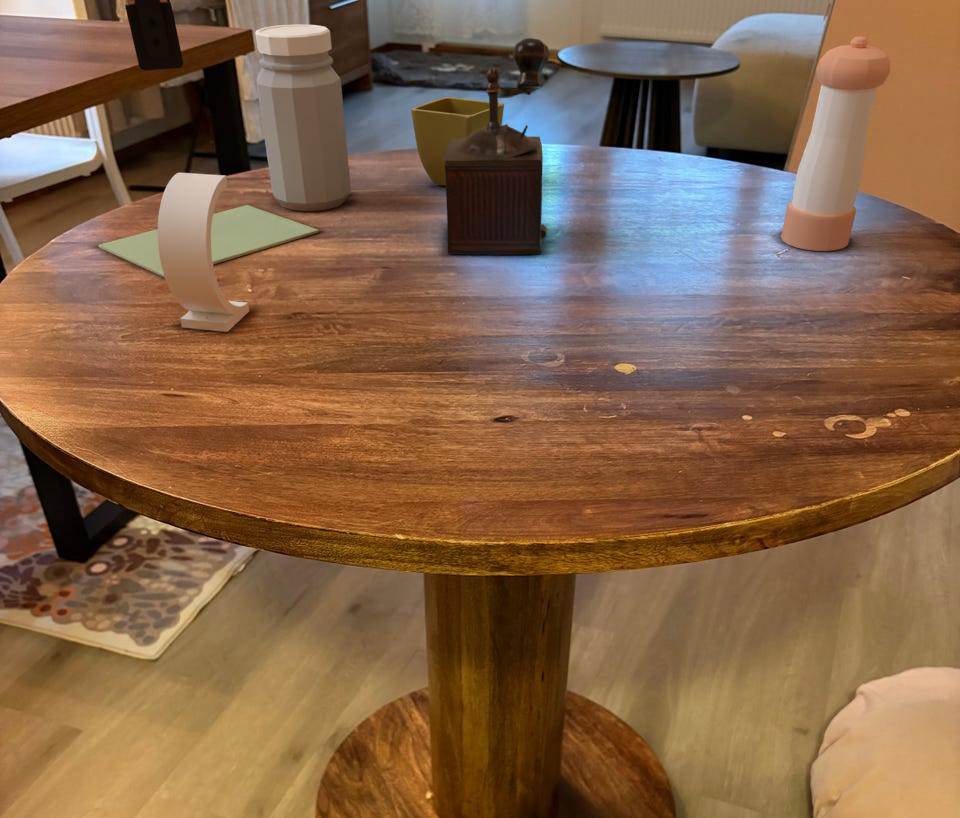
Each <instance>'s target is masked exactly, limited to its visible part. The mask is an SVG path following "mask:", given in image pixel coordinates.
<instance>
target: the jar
mask: <svg viewBox="0 0 960 818" xmlns="http://www.w3.org/2000/svg"><path fill="white" fill-rule="evenodd" d="M254 32H255V41H256V47H257V51H258V53H260V54H261V56H262V58H260V59H259V60H258V63H259V65H260V67H261V69H260V71H259V73H258V75H257V77H256V79H255V82H256V88H257V96H258V103H259V110H260V116H261V117H260V118H261V124H262V130H263V137H264V144H265V151H266V157H267V164H268V171H269V179H270V185H271V193H272V195H273V198H274V199H275V201H276V202H277V203H279V205H280V206H281V207H282V208H285V209H287V210H291V211H300V212H317V211H326V210H330V209H333V208H337V207H340V206H341V205H342V204H343V203H345V202H346V201H347V199H348V197H349V196H350V194H351V192H352V185H351V177H350V176H351V175H350V164H349V154H348V143H347V133H346V122H345V111H344V101H343V90H342V79H341V78H340V76H339V75H338V73H337V72H336V71H335V70H334V68H333V67H332V66H331V65H332V64H333V63H334V58H332V57H331V56H330V55H329V51H330V50H332V49H333V48H332V37H331V31H330V29H329V28H328V27H327V26H324V25H317V24H302V23H301V24H300V23H299V24H298V23H297V24H279V25H278V24H277V25H271V26H270V25H269V26H265V27H261V28H258V29H256V31H254Z"/></svg>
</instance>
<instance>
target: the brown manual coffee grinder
mask: <svg viewBox="0 0 960 818" xmlns="http://www.w3.org/2000/svg"><path fill="white" fill-rule="evenodd" d="M549 58H550V50H549V46H548V45H547V44H546V43H544V41H542V40H541V39H538V38H532V37H529V38H528V37H526V38H522V40H519V42H517V43H516V44H515V46H514V48H513V51H512V59H513V61H514V63H515V64H516V66H517V68H518V71H519V77H518V81H517V82H516V87H513V88H501V85H500V84H499V78H500V72H499V70H498V69H497V68H495V67H492V68H489V69H488V70H487V72H486V80H487V84H486V91H485V92H486V93H487V95H488V102H489V122H488V126H487V127H483V128H481V129H479V130H477V131H475V132H473V133H471V134H470V135H469V136H468V137H467V138H450V139H449V143H448V148H447V151H446V155H445V175H446V186H445V196H446V200H445V201H446V225H447V226H446V227H447V229H446V230H447V250H446V251H447V254H454V255H539V254H541V253H542V251H543V250H542V249H543V243H544V239H545V237H546V236H547V226H545V224H543V223H542V218H543V217H542V215H543V211H542V210H543V169H544V168H543V167H544V165H543V164H544V163H543V162H544V159H543V158H544V157H543V144H542V140H541V136H527V135H526V132H527V129H528V128H529V127H528V124H526V125H525V126H524V128H523V131H520V130H518V129H515V128H514V127H512V126H509V125H508V123H506V124H502V126H500V123H499V121H498V103H499V99H511V98H514V97H517V96H518V95H521V94H526V95H528V96H530V95H531V93H532V92H534V91H535V89H541V88H543V86H544V83H543V82H542V77H541V74H542V72H543V70H544V68H545V66H546V64H547V63H548V61H549Z"/></svg>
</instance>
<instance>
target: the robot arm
mask: <svg viewBox="0 0 960 818" xmlns="http://www.w3.org/2000/svg"><path fill="white" fill-rule="evenodd" d="M126 2H127V4H124V8H125V12H126V16H127V20H128V24H129V29H130V34H131V38H132V43H133V47H134V51H135V53H136V54H135V56H136V59H137V63H138V67H139V68H140V69H141V70H142V71H159V70H171V69H172V70H173V69H181V68H182V67H183V66H184V60H183V59H184V58H183V55H182V50H181V44H180V39H179V34H178V30H177V25H176V19H175V15H174V9H173V5H172V2H171V0H126Z"/></svg>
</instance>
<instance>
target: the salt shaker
mask: <svg viewBox="0 0 960 818" xmlns="http://www.w3.org/2000/svg"><path fill="white" fill-rule="evenodd" d="M868 41H869V40H868V38H866V37H865V36H860V35H859V36H858V35H857V36H855V37H853V38H852V39H851V40H850V42H849V43H850V44H845V45H843V44H842V45H839V46H836V47H834V48H831V49H829V50H827V51H826V52H825V53H824V55H823V56H821V58H820V59H819V61H818V63H817V66H816V68H815V74H816V79H817V81H818V82H819V83H820V84H821V86H820V90H819V93H818V98H817V103H816V108H815V112H814V116H813V122H812V127H811V131H810V134H809V136H808V138H807V139H808V140H807V142H806V144H805V145H806V146H805V148H804V151H803V153H802V157H801V160H800V163H799V165H798V168H797V170H796V177H795V182H794V187H793V188H794V189H793V193H792V199H791V201H789V202H788V205H787V206H786V211H785V216H784V221H783V224H782V230H781V234H780V239H781V241H782V242H783V243H785V244H786V245H788V246H791V247H794V248H798V249H801V250H806V251H814V252H829V251H837V250H841V249H844V248H846V247H847V246H848V245H849V243H850V238H851V233H852V230H853V226H854V222H855V218H856V214H857V208H856V207H855V202H856V198H857V195H858V193H859V188H860V185H861V181H862V179H863V174H864V173H863V171H864V162H865V152H866V142H867V134H868V130H869V125H870V121H871V116H872V112H873V108H874V105H875V100H876V95H877V91H878V87H881V86H883V85H884V83H885V82H886V81H887V79H888V77H889V75H890V73H891V61H890V58H889V55H888V54H887V53H885V52H884V51H882V50H881V49H880V48H878V47H876V46H871V45H868V43H869V42H868Z"/></svg>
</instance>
